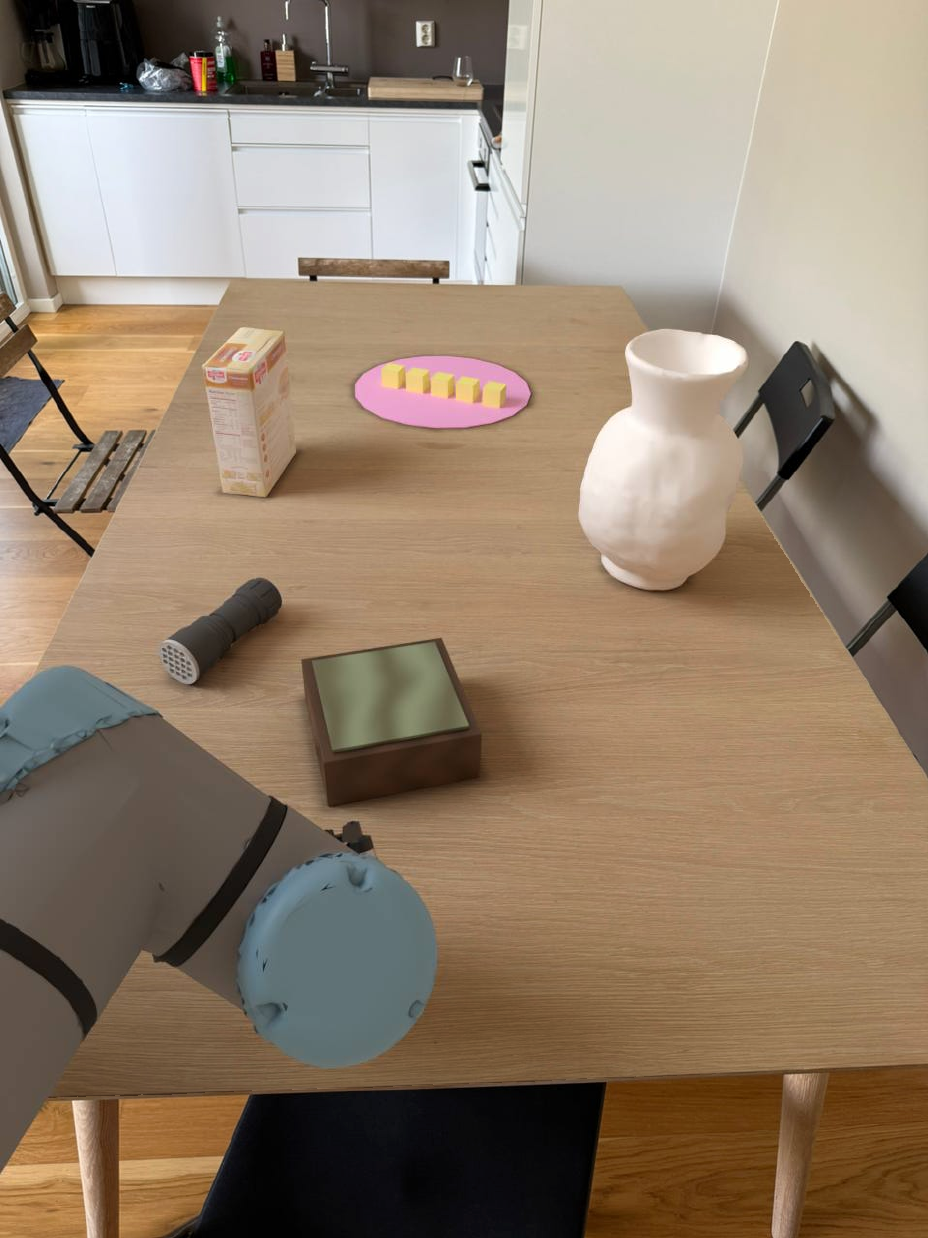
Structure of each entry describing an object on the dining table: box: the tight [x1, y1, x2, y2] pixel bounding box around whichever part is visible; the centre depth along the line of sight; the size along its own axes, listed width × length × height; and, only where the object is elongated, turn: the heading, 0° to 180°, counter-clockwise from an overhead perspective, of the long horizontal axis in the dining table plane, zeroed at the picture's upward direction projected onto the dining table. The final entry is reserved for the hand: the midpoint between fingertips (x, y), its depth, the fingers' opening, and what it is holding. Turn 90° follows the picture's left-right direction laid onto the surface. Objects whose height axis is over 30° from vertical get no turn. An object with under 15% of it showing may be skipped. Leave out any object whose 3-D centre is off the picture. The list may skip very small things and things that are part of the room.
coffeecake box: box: [201, 326, 297, 498], centre depth 129 cm, size 15×7×20 cm, turn 171°
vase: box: [577, 328, 749, 591], centre depth 108 cm, size 19×21×30 cm
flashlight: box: [157, 577, 283, 685], centre depth 101 cm, size 15×5×5 cm, turn 151°
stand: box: [301, 637, 483, 807], centre depth 89 cm, size 15×15×6 cm
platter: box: [354, 355, 532, 429], centre depth 161 cm, size 32×32×3 cm
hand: (236, 868), depth 67 cm, fingers closed on coffee cup, 9 cm apart
